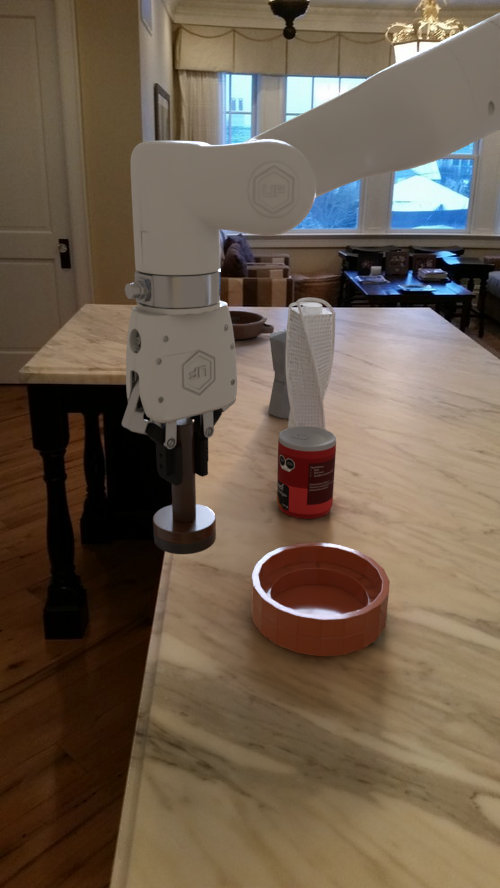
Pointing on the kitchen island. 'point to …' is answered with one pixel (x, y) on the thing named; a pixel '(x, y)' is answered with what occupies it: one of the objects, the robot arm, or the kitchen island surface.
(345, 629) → the bowl
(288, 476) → the canned food
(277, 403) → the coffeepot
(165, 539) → the brown coffee tamper
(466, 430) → the kitchen island surface
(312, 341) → the skyscraper
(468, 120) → the robot arm
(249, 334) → the dish
